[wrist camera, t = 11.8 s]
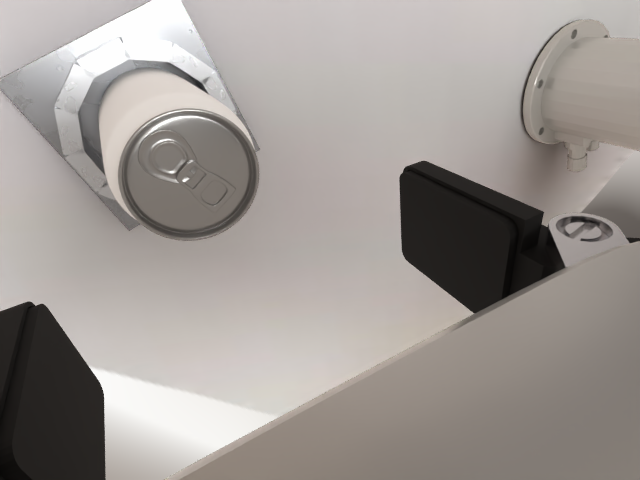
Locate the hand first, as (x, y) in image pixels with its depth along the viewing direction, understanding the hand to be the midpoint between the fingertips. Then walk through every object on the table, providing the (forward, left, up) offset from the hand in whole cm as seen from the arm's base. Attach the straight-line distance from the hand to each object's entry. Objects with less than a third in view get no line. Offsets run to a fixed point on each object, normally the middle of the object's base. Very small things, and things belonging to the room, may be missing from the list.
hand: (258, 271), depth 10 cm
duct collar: (0, 0, -21) cm, 21 cm away
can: (0, 0, -20) cm, 20 cm away
